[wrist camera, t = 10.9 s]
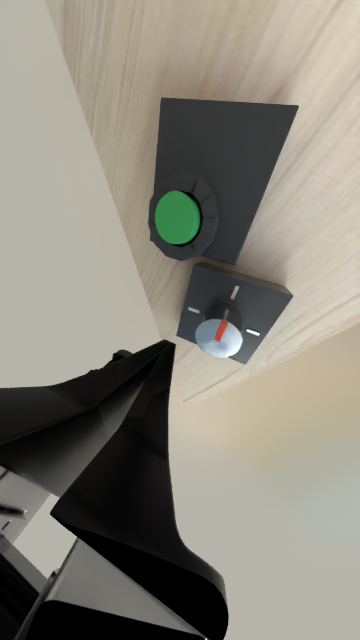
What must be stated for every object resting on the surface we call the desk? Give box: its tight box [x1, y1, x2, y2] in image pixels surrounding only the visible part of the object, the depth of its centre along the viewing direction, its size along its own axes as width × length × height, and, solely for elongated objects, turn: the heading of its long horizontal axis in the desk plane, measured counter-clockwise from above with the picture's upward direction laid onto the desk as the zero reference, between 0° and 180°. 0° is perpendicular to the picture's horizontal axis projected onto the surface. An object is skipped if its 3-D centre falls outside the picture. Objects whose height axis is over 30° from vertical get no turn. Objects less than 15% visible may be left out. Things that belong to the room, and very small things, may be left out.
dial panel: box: [176, 262, 293, 364], centre depth 18 cm, size 10×10×3 cm
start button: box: [155, 191, 200, 244], centre depth 13 cm, size 4×4×2 cm
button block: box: [148, 98, 299, 265], centre depth 13 cm, size 10×11×4 cm
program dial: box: [195, 303, 242, 357], centre depth 15 cm, size 4×4×4 cm
